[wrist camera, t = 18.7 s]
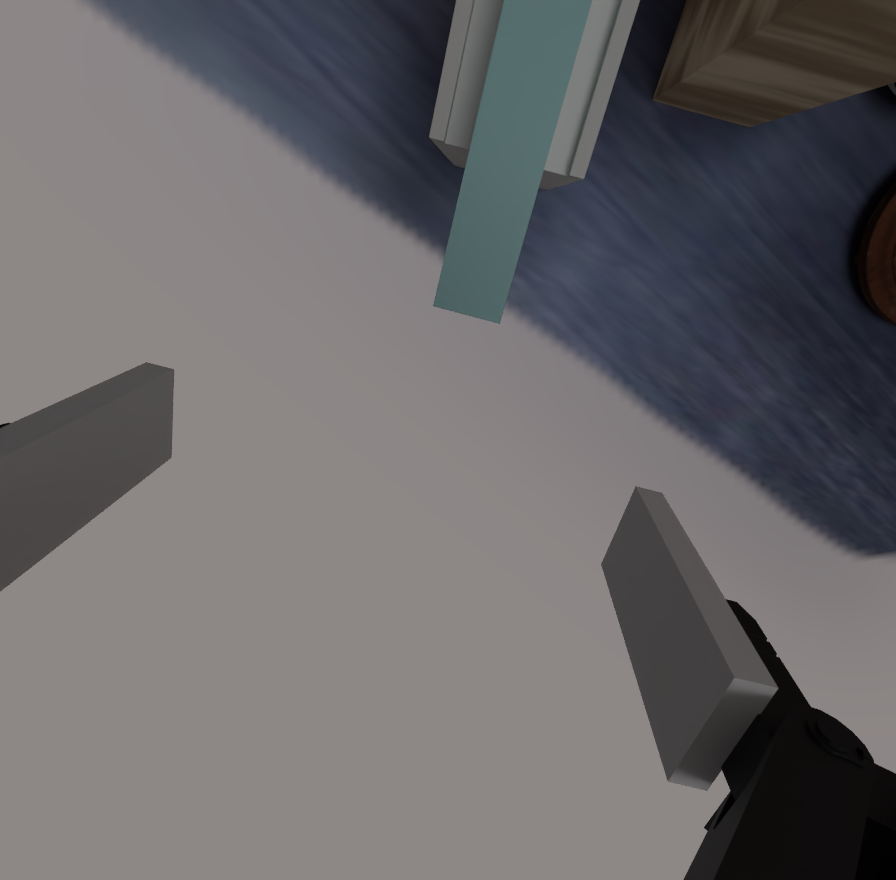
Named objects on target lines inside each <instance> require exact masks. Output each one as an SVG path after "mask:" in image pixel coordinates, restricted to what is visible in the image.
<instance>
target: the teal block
mask: <svg viewBox="0 0 896 880" xmlns="http://www.w3.org/2000/svg"><path fill="white" fill-rule="evenodd" d="M591 3H592V0H504V3H503V7H502V12H501V16H500V20H499V25H498V29H497V33H496V37H495V42H494V46H493V50H492V55H491V59H490V63H489V68H488V72H487V76H486V81H485V85H484V89H483V94H482V98H481V102H480V106H479V111H478V115H477V119H476V124H475V128H474V132H473V137H472V141H471V145H470V150H469V154H468V158H467V163H466V167H465V171H464V175H463V180H462V184H461V188H460V193H459V197H458V201H457V206H456V210H455V214H454V219H453V223H452V227H451V232H450V236H449V240H448V245H447V249H446V253H445V257H444V262H443V266H442V271H441V275H440V279H439V283H438V288H437V292H436V297H435V301H434V305H433V306H435V307H439V308H442V309H446V310H450V311H454V312H458V313H461V314H465V315H469V316H473V317H476V318H480V319H484V320H488V321H492V322H495V323H499V324H500V321H501V317H502V314H503V310H504V307H505V303H506V300H507V296H508V293H509V289H510V286H511V282H512V279H513V275H514V272H515V268H516V265H517V261H518V258H519V254H520V251H521V248H522V244H523V241H524V237H525V234H526V230H527V227H528V223H529V220H530V216H531V213H532V209H533V206H534V202H535V199H536V195H537V192H538V188H539V185H540V181H541V178H542V174H543V171H544V167H545V164H546V160H547V157H548V153H549V150H550V146H551V143H552V139H553V136H554V132H555V129H556V125H557V122H558V119H559V115H560V112H561V108H562V105H563V101H564V98H565V94H566V91H567V87H568V84H569V80H570V77H571V73H572V70H573V66H574V63H575V59H576V56H577V52H578V49H579V45H580V42H581V38H582V35H583V31H584V28H585V24H586V21H587V17H588V14H589V10H590V7H591Z"/></svg>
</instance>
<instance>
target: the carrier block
mask: <svg viewBox="0 0 896 880" xmlns="http://www.w3.org/2000/svg"><path fill="white" fill-rule="evenodd" d="M639 2H640V0H592V3H591V7H590V10H589V14H588V17H587V21H586V24H585V28H584V31H583V35H582V38H581V42H580V45H579V49H578V52H577V56H576V59H575V63H574V66H573V70H572V73H571V77H570V80H569V84H568V87H567V91H566V94H565V98H564V101H563V105H562V108H561V112H560V115H559V119H558V122H557V125H556V129H555V132H554V136H553V139H552V143H551V146H550V150H549V153H548V157H547V160H546V164H545V167H544V171H543V174H542V178H541V181H540V185H539V188H540V189H544V190H549V189H553V188H556V187H559V186H563V185H566V184H569V183H573V182H576V181H579V180H583V179H584V177H585V174H586V171H587V168H588V165H589V161H590V158H591V155H592V152H593V149H594V145H595V142H596V139H597V136H598V133H599V129H600V126H601V123H602V120H603V117H604V113H605V110H606V107H607V104H608V101H609V97H610V94H611V91H612V88H613V85H614V81H615V78H616V75H617V72H618V69H619V65H620V62H621V59H622V56H623V53H624V50H625V46H626V43H627V40H628V37H629V34H630V30H631V27H632V24H633V21H634V18H635V14H636V11H637V8H638V5H639ZM503 3H504V0H456V4H455V9H454V14H453V20H452V25H451V30H450V35H449V40H448V45H447V50H446V55H445V60H444V65H443V70H442V75H441V80H440V85H439V90H438V95H437V100H436V105H435V110H434V115H433V120H432V125H431V130H430V135H429V138H430V139H431V140H432V141H433V142H434V143H435V145H436V146H437V147H438V148H439V149H440V150H441V151H442V152H443V154H444V155H445V156H446V157H447V158H448V159H449V160H450V161H451V162H452V164H453V165H454V166H458V167H461V168H465V167H466V163H467V158H468V154H469V150H470V145H471V141H472V137H473V132H474V128H475V124H476V119H477V115H478V111H479V106H480V102H481V98H482V94H483V89H484V85H485V81H486V76H487V72H488V68H489V63H490V59H491V55H492V50H493V46H494V42H495V37H496V33H497V29H498V25H499V20H500V16H501V12H502V7H503Z"/></svg>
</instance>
